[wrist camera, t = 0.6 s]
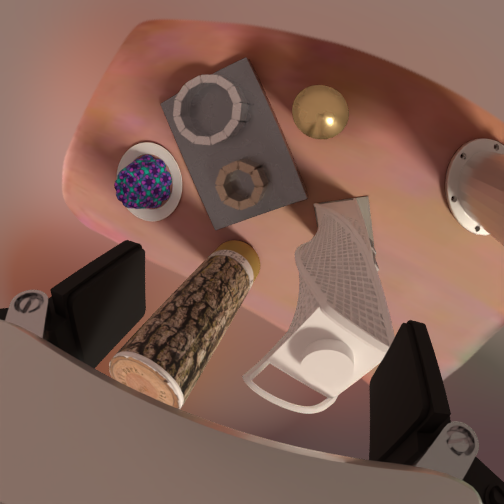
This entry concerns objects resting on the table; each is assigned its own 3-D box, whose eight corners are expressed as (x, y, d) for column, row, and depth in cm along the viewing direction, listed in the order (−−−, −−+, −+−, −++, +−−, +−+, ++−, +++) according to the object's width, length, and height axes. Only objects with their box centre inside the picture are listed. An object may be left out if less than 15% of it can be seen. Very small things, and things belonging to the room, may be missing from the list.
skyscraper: (311, 255, 41) (260, 437, 16) (300, 196, 38) (221, 334, 13) (373, 247, 38) (404, 434, 13) (366, 186, 35) (421, 320, 10)
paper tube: (207, 253, 44) (97, 365, 22) (241, 229, 41) (135, 345, 19) (235, 289, 46) (150, 419, 23) (271, 268, 43) (198, 409, 20)
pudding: (200, 178, 41) (182, 186, 36) (157, 235, 46) (138, 247, 41) (144, 125, 40) (122, 127, 35) (108, 184, 45) (87, 192, 40)
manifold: (249, 59, 32) (239, 52, 29) (308, 195, 37) (304, 203, 34) (166, 104, 37) (150, 103, 34) (219, 227, 42) (208, 236, 39)
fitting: (335, 91, 31) (335, 77, 22) (351, 129, 33) (357, 129, 24) (297, 105, 33) (283, 96, 24) (313, 142, 35) (305, 146, 26)
